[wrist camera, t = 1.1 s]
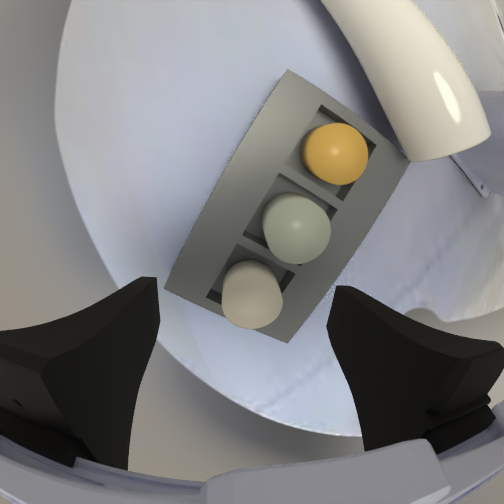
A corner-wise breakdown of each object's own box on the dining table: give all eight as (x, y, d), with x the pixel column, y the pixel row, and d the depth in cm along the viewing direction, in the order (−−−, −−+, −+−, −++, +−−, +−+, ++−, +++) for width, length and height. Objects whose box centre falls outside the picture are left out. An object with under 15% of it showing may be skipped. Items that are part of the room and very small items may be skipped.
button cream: (287, 274, 19) (294, 293, 16) (259, 314, 20) (262, 336, 17) (239, 250, 18) (240, 266, 15) (213, 294, 19) (211, 314, 16)
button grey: (328, 210, 17) (342, 221, 15) (298, 257, 18) (307, 274, 16) (280, 181, 16) (288, 187, 14) (250, 231, 17) (253, 245, 15)
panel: (392, 157, 18) (410, 160, 16) (282, 324, 23) (287, 343, 21) (280, 78, 16) (287, 69, 14) (170, 272, 21) (163, 288, 18)
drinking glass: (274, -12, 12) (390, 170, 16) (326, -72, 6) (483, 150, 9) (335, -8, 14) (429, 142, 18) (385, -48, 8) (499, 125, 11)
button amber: (360, 145, 17) (378, 147, 14) (334, 189, 18) (348, 196, 16) (317, 114, 16) (329, 110, 14) (289, 160, 17) (297, 162, 15)
